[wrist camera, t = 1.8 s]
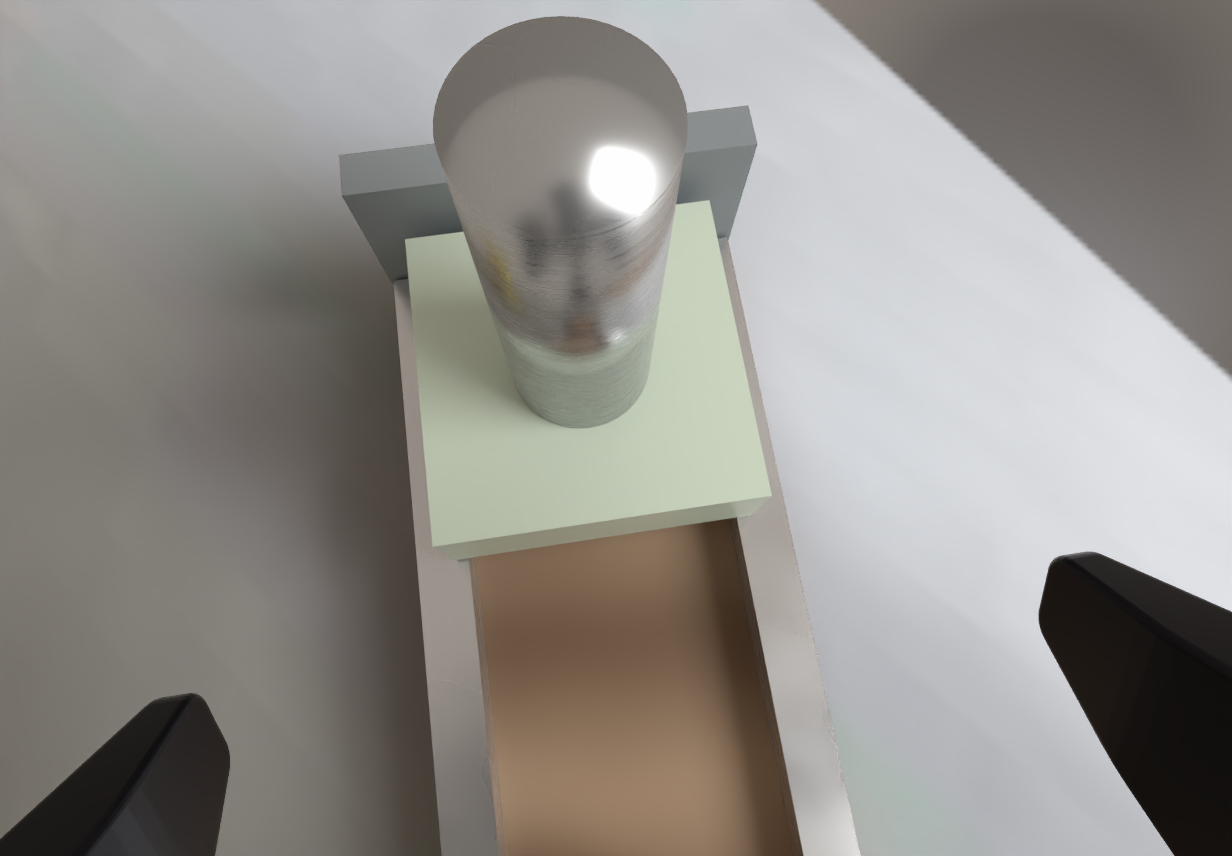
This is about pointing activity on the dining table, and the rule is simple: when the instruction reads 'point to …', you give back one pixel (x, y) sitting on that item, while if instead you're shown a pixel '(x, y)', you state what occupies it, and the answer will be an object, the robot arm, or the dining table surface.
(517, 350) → the carriage
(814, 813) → the rail
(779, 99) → the dining table surface
